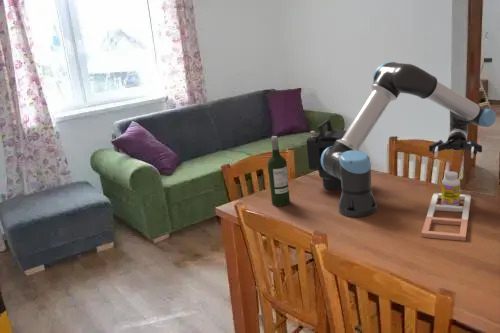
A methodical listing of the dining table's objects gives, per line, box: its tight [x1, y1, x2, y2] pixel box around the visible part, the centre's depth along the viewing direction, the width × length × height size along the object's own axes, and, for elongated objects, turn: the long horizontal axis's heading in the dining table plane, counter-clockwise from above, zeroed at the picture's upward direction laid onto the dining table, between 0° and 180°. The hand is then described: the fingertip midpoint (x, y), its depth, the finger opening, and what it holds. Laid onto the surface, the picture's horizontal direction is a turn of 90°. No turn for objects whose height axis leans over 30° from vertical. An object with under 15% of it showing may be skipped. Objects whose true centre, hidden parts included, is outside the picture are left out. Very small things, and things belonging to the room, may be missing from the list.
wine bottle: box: [267, 135, 291, 207], centre depth 208 cm, size 8×8×30 cm
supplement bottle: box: [441, 170, 461, 206], centre depth 190 cm, size 7×7×13 cm
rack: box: [421, 192, 472, 242], centre depth 181 cm, size 38×14×2 cm, turn 154°
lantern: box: [306, 119, 347, 191], centre depth 222 cm, size 15×18×30 cm
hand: (453, 154), depth 195 cm, fingers open, 13 cm apart
